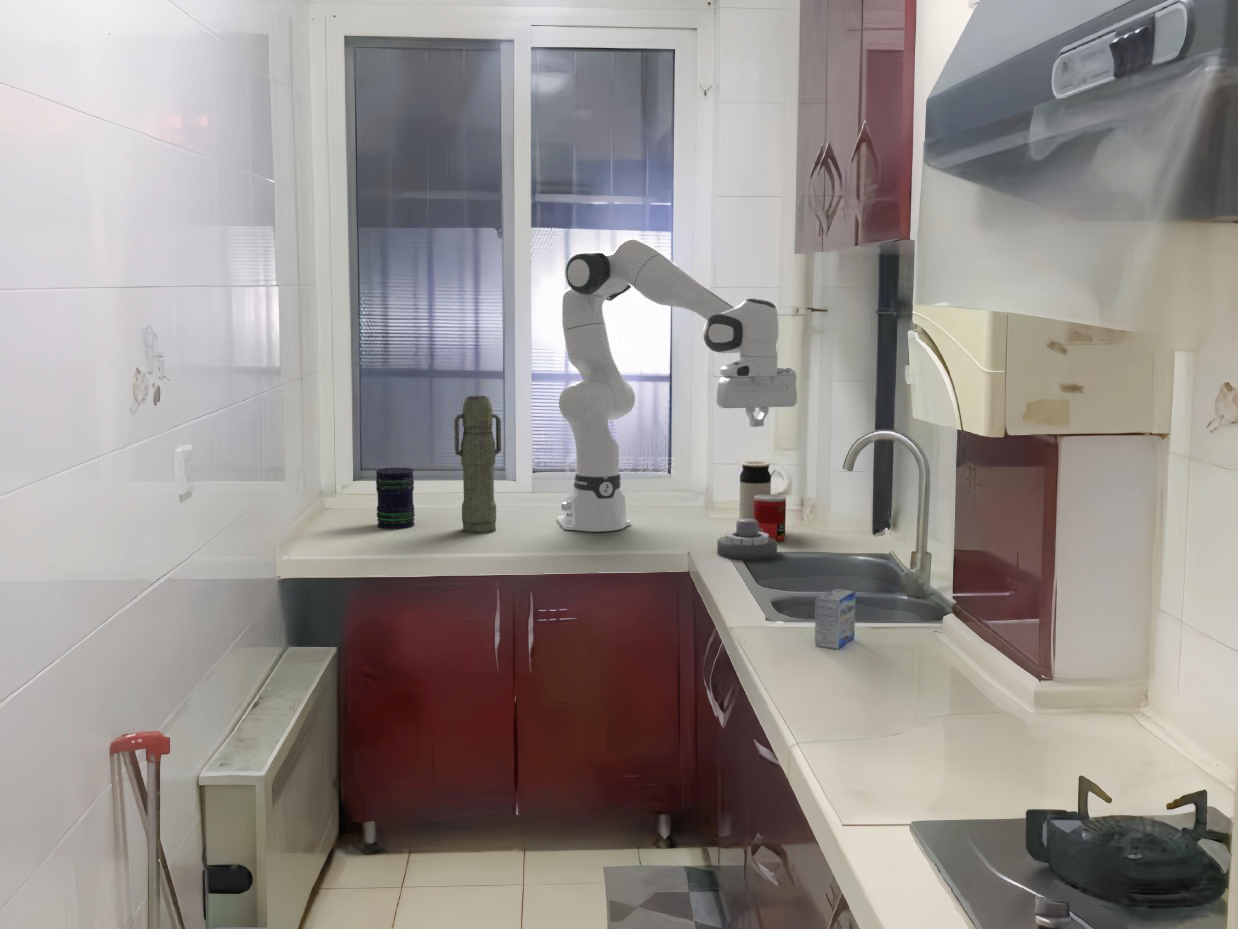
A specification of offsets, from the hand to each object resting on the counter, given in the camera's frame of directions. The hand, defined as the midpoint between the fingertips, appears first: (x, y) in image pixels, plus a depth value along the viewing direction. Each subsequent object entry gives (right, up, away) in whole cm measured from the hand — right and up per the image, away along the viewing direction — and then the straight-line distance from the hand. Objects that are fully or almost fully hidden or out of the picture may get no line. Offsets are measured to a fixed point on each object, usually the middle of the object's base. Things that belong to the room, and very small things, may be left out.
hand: (756, 426), depth 269 cm
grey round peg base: (-2, -30, -2) cm, 30 cm away
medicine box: (+5, -40, -73) cm, 83 cm away
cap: (-2, -27, -2) cm, 27 cm away
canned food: (+5, -28, +14) cm, 32 cm away
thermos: (-69, -26, +25) cm, 78 cm away
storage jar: (-92, -26, +31) cm, 101 cm away
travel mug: (+3, -27, +25) cm, 37 cm away
